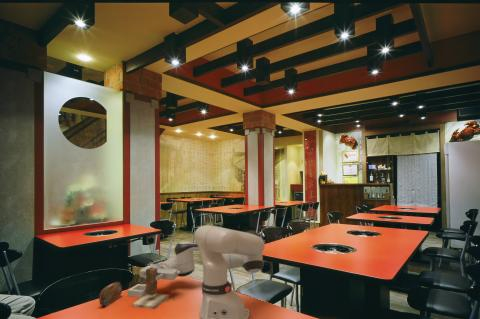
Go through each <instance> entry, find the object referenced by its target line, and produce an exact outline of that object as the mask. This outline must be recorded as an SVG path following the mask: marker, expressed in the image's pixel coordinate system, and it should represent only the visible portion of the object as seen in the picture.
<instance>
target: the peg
mask: <svg viewBox="0 0 480 319" xmlns="http://www.w3.org/2000/svg"><path fill="white" fill-rule="evenodd" d="M155 276H157V268H151V267H150V268H148V269H147V270H146V280H145V285H146V295H154V294H158V280H157V281H156V280H154V277H155Z"/></svg>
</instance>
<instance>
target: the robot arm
mask: <svg viewBox="0 0 480 319" xmlns="http://www.w3.org/2000/svg"><path fill="white" fill-rule="evenodd" d="M193 235H194V236H193V238H194V242H192V241H185V240H183V241H179V242H177V244H176V245H175V247H174V254H175V256H172V257H170V258H168V259H166V260H163V261H160V262H152V263H150V264H149V265H147V266H145V267H143V268H141V269H140V270H139V278H144V280H145V281H146V270H147V269H148V268H150V267H151V268H157V276H155V277H154V280H156V281H157V282H158V281H160V280H165V281H166V280H167V281H175V280H176V278H178V277H188V276H189V275H191V274H192V273H193V272H194V271H195V270H196V269H195V268H196V266H195V265H196V264H195V259H194V251H199V254H200V257H201V261H202V279H203V280H202V284H201V293H202V299H201V300H202V301H201V306H200V311H199V317H200V318H201V319H249V318H250V310H249V308H247V307H245V302H244V299H243V298H242V297H241V296H240V295H238V294H237V293H236V292H235V291H233V290H232V288H233V287H232V286H233V282H230V281H228V270H231V269H237V268H241V267H242V268H243V269H244V270H245V271H246V272H247V273H252V274H254V273H258V272H261V271H262V270H263V269H264V261H263V260H264V258H263V252H264V250H265V241H264V240H263V238H262V237H260V235H259V233H258V232H257V231H254V230H248V231H240V230H235V229H230V228H226V227H220V226H216V225H211V224H209V225H207V224H206V225H201V226H199V227H197V229H196V230H195V232H194V234H193Z"/></svg>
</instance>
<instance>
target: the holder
mask: <svg viewBox="0 0 480 319" xmlns="http://www.w3.org/2000/svg"><path fill="white" fill-rule="evenodd" d="M145 295H146V284H141V283H140V284H139V283H137V284H136V285H134V286H132V287H130V288H129V289H127V297H134V298H142V297H143V296H145Z"/></svg>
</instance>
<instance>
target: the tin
mask: <svg viewBox="0 0 480 319" xmlns="http://www.w3.org/2000/svg"><path fill="white" fill-rule="evenodd" d="M122 292H123V286H122V283H121V282H120V281H116V282H113V283H110V284H109V285H107V286H105V287H104V288H102V289H101V291H100V292H99V295H98V296H99V297H98V300H99V301H98V302H99V305H100V306H102V307H103V306H104V307H108V306H110V305H112V304H113V303H114V302H116V301H117V300H119V299H120V298H121V295H122Z"/></svg>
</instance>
